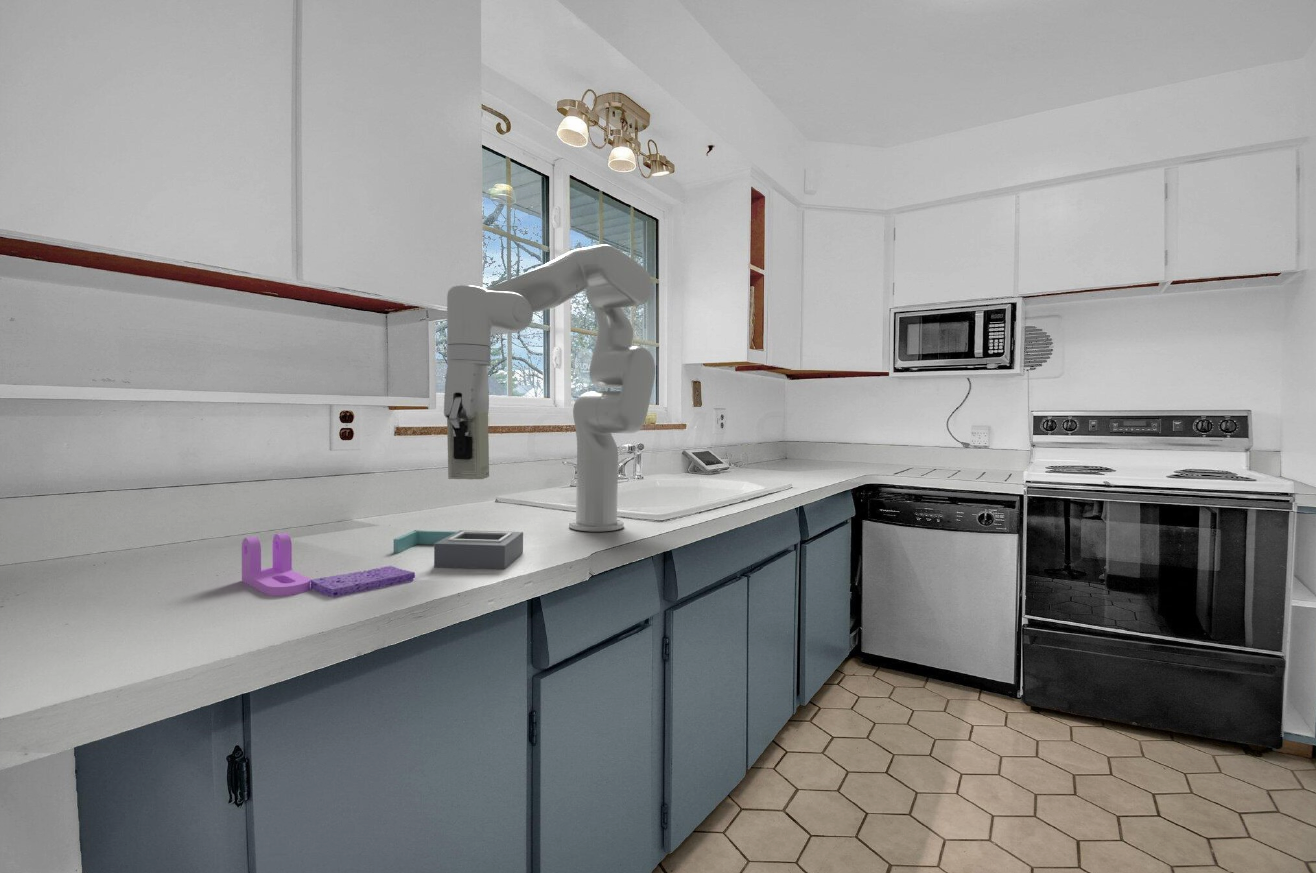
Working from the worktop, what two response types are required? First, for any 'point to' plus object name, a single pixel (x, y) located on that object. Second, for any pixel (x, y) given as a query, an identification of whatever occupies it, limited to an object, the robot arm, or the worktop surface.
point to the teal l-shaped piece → (419, 539)
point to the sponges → (361, 581)
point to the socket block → (478, 549)
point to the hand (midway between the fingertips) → (468, 457)
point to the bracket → (276, 578)
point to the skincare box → (480, 450)
